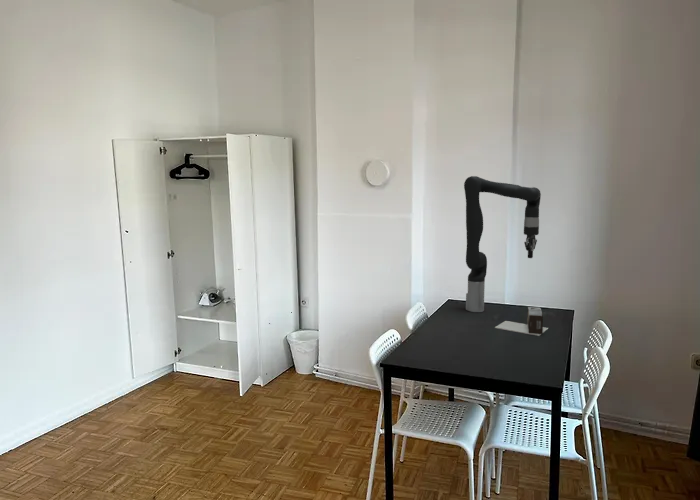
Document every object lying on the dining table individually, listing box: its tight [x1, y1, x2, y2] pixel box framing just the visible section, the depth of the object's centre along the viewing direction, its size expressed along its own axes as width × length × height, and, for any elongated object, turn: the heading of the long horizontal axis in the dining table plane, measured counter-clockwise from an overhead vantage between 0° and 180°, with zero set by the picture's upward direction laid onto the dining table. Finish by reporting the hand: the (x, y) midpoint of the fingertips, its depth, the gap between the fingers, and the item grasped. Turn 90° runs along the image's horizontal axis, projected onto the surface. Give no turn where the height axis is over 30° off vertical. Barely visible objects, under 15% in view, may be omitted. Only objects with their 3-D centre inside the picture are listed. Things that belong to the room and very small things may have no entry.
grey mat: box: [494, 320, 549, 337], centre depth 262 cm, size 22×14×1 cm, turn 52°
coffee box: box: [526, 306, 544, 335], centre depth 259 cm, size 9×6×16 cm
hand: (530, 257), depth 279 cm, fingers closed
